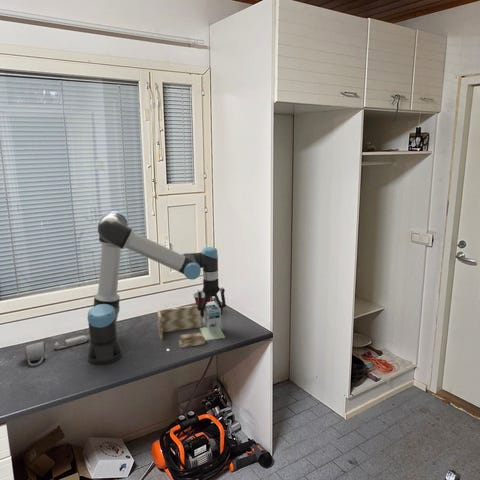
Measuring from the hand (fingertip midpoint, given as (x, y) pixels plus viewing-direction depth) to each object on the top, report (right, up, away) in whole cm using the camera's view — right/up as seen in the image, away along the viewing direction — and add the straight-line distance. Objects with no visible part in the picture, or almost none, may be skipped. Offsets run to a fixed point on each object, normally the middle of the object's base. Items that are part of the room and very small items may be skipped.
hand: (211, 321), depth 212 cm
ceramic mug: (-77, -13, -23) cm, 82 cm away
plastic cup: (-7, -1, +26) cm, 27 cm away
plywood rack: (-16, -6, +2) cm, 17 cm away
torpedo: (-66, -10, -9) cm, 67 cm away
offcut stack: (-9, -9, -9) cm, 16 cm away
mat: (0, -6, +2) cm, 7 cm away
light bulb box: (0, -2, +1) cm, 2 cm away
